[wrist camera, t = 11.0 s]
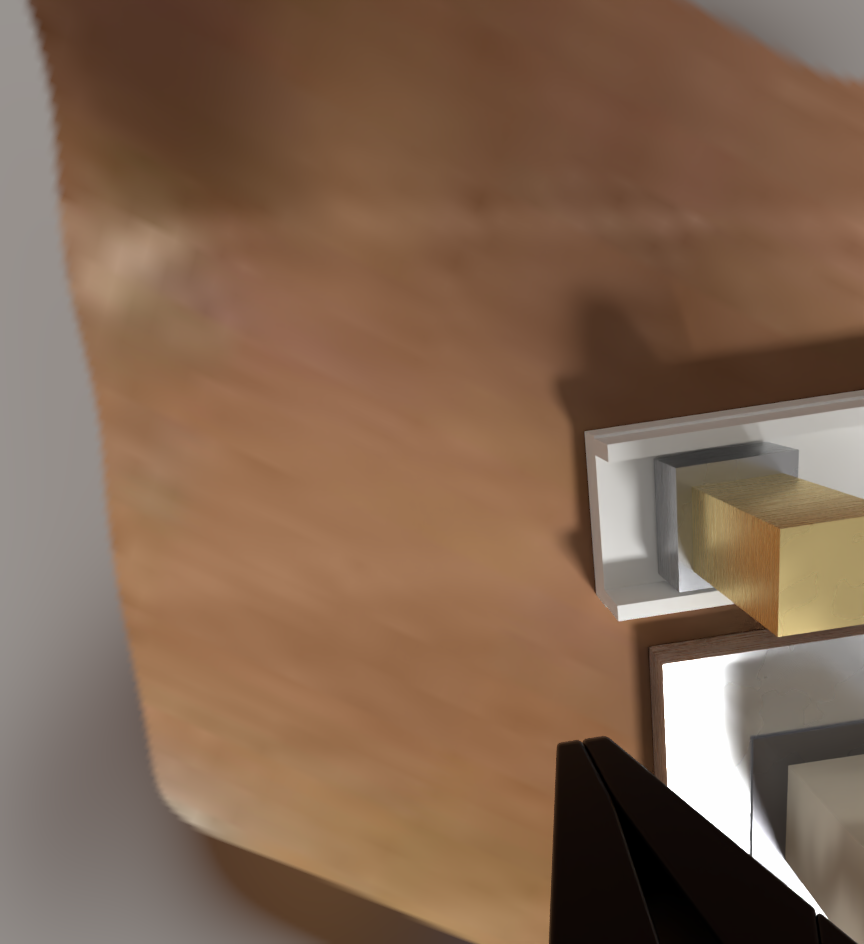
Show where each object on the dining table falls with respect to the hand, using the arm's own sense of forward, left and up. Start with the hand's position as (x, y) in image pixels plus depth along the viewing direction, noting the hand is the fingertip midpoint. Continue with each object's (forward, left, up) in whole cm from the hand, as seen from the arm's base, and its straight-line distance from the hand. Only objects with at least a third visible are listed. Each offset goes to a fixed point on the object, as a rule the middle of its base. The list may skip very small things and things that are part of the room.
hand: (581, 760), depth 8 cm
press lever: (0, -8, -10) cm, 13 cm away
